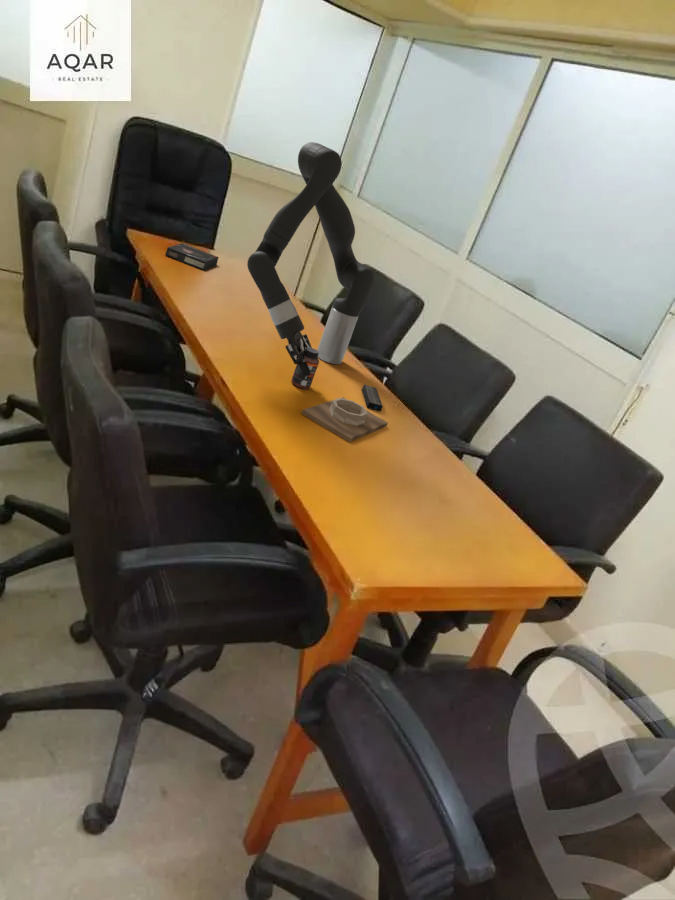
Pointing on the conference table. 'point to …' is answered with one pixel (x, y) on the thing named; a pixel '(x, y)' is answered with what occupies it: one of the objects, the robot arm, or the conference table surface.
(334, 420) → the ring stand
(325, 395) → the conference table surface
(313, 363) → the supplement bottle
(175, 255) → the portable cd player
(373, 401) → the multiport hub
